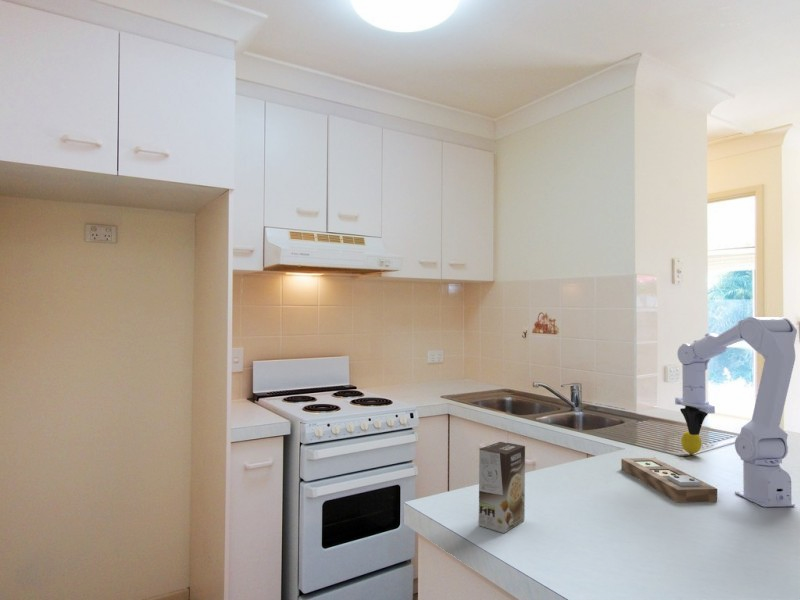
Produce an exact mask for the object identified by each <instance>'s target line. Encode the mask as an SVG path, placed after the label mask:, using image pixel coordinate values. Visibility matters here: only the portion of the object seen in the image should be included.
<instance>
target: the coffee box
mask: <svg viewBox="0 0 800 600" xmlns="http://www.w3.org/2000/svg"><path fill="white" fill-rule="evenodd" d="M478 457H479V458H478V459H479V463H478V464H479V466H478V467H479V468H478V469H479V470H478V477H479V478H478V526H480V527H483V528H486V529H489V530H491V531H492V530H493V531H495V532H499V533H501V534H506V533H507V532H509V531H511V529H513V528H514V527H517V526H518V525H519V523H520V522H521V523H522V521H523V522H524V521H525V519H526V518H525V512H526V511H525V510H526V509H525V508H526V507H525V506H526V505H525V500H526V497H525V495H526V494H525V493H526V492H525V491H526V488H525V487H526V483H525V482H526V445H523V444H517V443H512V442H504V441H498V442H496V443H493V444H489V445H487V446H483V447H481V448H479V456H478ZM521 523H520V524H521Z"/></svg>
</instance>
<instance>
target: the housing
mask: <svg viewBox="0 0 800 600" xmlns="http://www.w3.org/2000/svg"><path fill="white" fill-rule="evenodd" d="M620 460H621V461H620V462H621V465H620V466H621V470H622V471H624V472H625V473H627V474H629V475H631V476H632V477H634V478H635V479H637V480H639V481H640V482H643V483H644V484H645V485H647V486H649V487H650V488H652V489H654V490H656V491H657V492H659V493H661V494H663V495H665V496H666V497H667V498H669V499H671V500H672V501H674V502H676V503H704V502H705V503H706V502H707V503H708V502H709V503H710V502H715V503H716V502H718V488H717V487H714V486H713V485H711V484H708V483H707V482H704V481H702V480H700V479H698V478H696V477H694V476H692V475H690V474H688V473H686V472H684V471H682V470H680V469H678V468H676V467H674V466H671V465H670V464H668V463H666V462H664V461H661V460H660V459H658V458H656V457H643V458H640V457H638V458H637V457H636V458H634V457H633V458H631V457H630V458H628V457H627V458H621V459H620ZM648 461H651V462H653V463H655V464H657V465H659V466H647V467H644V466H642V465H640V464H638V463H636V462H648ZM651 470H669V471H671V472H673V473H675V474H677V475H688V476H690V477H692V478H694V479H696V480H698V481H700V486H679V485H677V484H675V483H673V482H671V481H670V480H669V479H668V476H660V475H659V474H657V473H655V472H653V471H651Z"/></svg>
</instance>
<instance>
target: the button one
mask: <svg viewBox="0 0 800 600" xmlns="http://www.w3.org/2000/svg"><path fill="white" fill-rule="evenodd" d="M636 463H638V464H640V465H642V466H644V467H647V466H659V465H657V464H655V463H653V462H651V461H648V462H636Z"/></svg>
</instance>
